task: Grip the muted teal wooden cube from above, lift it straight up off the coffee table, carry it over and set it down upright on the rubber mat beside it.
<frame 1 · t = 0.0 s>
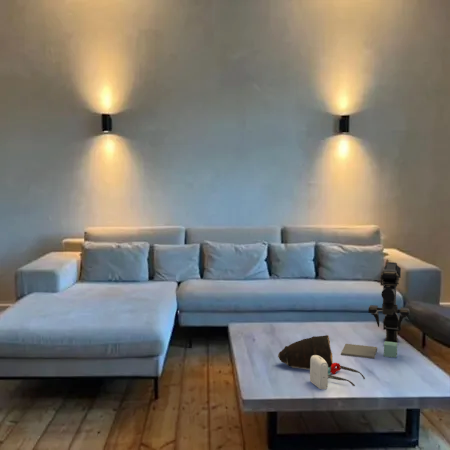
hand: (388, 327, 254), 15 cm above the table, tool pointing down, fingers open, 9 cm apart
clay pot: (305, 367, 243), on the table
mat: (359, 351, 263), on the table
photo printer: (318, 385, 221), on the table
cube: (390, 355, 258), on the table
novelty glasses: (344, 380, 228), on the table
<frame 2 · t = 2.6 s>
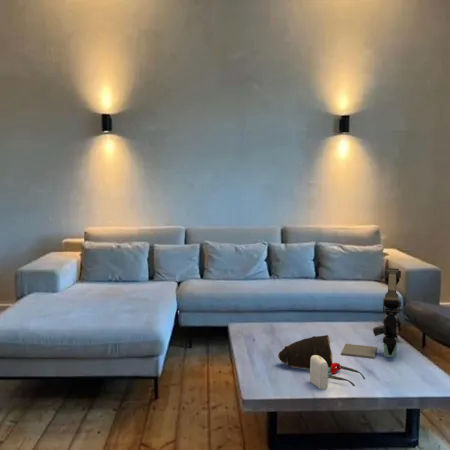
hand: (390, 352, 258), 1 cm above the table, tool pointing down, fingers closed on cube, 6 cm apart
cube: (390, 355, 258), on the table, touching gripper
everything else where it was.
when the fingers open (4 cm above the table, at t = 7.4 s): cube drops 1 cm, resting on mat.
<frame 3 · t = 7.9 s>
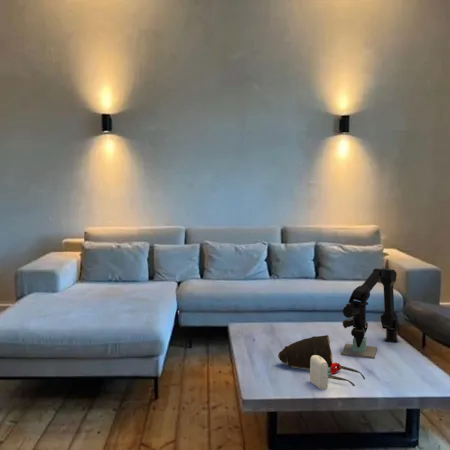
hand: (359, 344, 263), 4 cm above the table, tool pointing down, fingers open, 9 cm apart
cube: (359, 349, 263), point 1 cm above the table, touching mat
everything else where it was.
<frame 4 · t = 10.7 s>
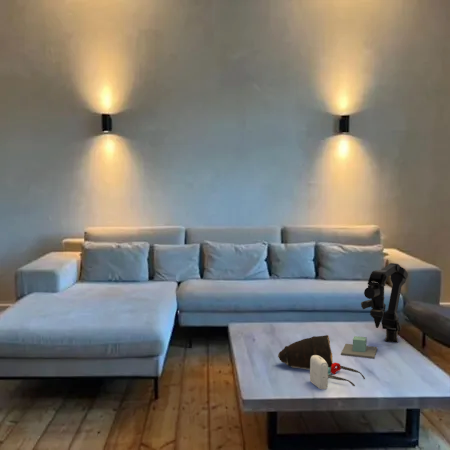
hand: (377, 325, 268), 12 cm above the table, tool pointing down, fingers open, 9 cm apart
nothing on the table moved.
at the end: cube inside the target area on the mat (0.0 cm from its centre), point 1.0 cm above the mat's base; cube tilted 0°; the gripper is holding nothing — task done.
